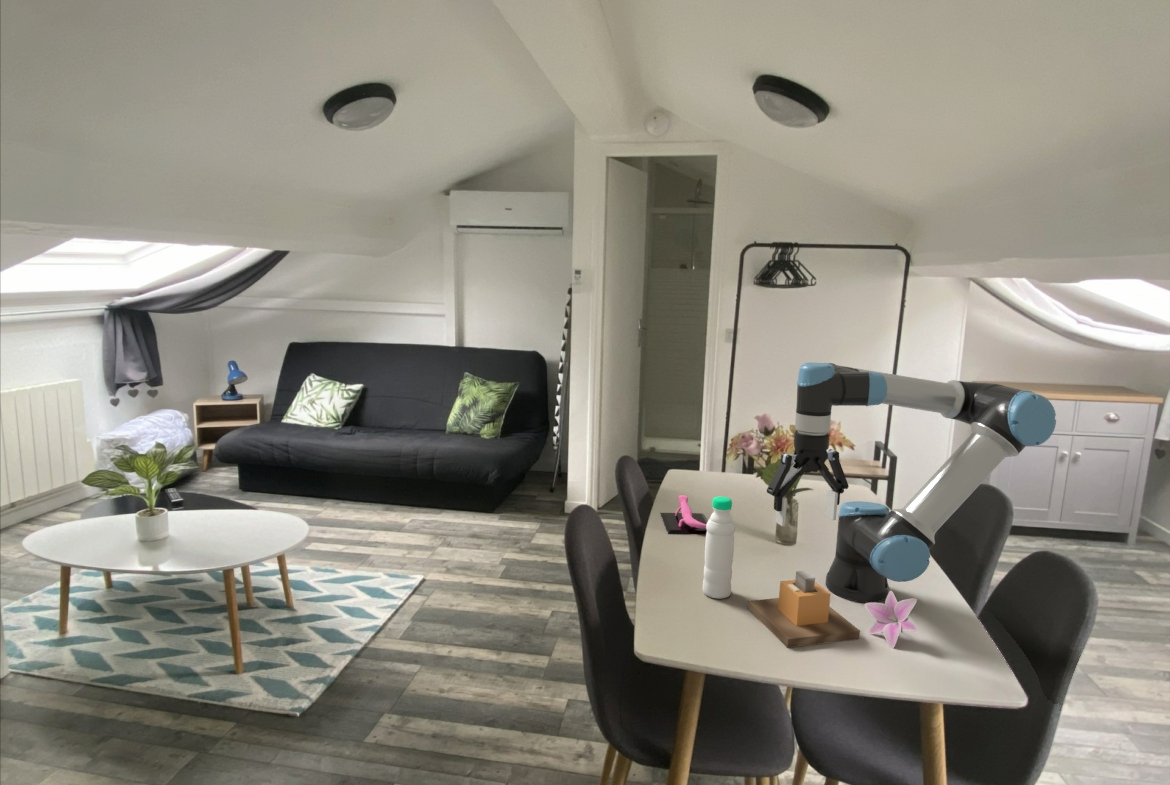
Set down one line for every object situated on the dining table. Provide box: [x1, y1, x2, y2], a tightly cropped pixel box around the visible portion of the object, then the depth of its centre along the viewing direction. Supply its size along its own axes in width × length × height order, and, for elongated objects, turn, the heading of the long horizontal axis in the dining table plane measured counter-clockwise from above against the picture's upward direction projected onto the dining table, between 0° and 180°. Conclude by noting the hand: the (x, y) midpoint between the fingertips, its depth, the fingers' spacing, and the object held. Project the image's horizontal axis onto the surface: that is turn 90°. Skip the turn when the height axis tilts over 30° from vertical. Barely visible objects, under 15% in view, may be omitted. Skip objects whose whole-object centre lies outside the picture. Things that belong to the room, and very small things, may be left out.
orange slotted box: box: [778, 579, 832, 626], centre depth 160 cm, size 8×8×7 cm
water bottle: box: [702, 496, 736, 600], centre depth 172 cm, size 7×7×25 cm
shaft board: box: [747, 570, 861, 648], centre depth 160 cm, size 18×18×12 cm
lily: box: [864, 590, 919, 649], centre depth 156 cm, size 12×12×10 cm
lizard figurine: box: [659, 494, 708, 536], centre depth 223 cm, size 15×20×7 cm
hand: (805, 521), depth 160 cm, fingers open, 13 cm apart
